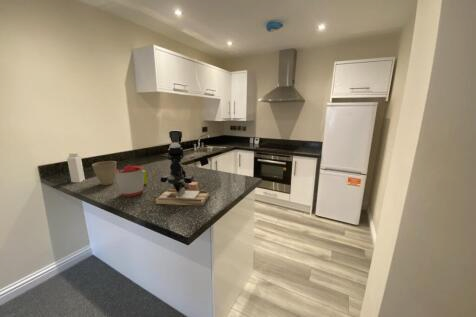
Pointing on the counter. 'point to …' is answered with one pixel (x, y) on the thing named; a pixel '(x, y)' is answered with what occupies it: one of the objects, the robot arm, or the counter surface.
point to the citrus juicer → (130, 180)
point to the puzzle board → (182, 201)
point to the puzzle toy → (145, 177)
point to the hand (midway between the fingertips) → (178, 192)
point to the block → (193, 186)
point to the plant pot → (105, 171)
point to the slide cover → (187, 194)
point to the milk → (75, 168)
